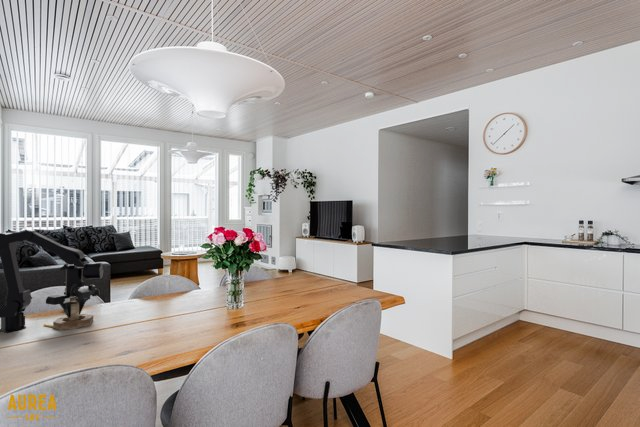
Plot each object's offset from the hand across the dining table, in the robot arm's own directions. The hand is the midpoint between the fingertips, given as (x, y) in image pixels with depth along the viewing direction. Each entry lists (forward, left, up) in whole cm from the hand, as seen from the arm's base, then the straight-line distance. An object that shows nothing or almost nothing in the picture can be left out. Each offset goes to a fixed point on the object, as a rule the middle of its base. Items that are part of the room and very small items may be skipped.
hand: (73, 316), depth 146 cm
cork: (+16, +28, -4) cm, 32 cm away
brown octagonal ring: (0, 0, -4) cm, 4 cm away
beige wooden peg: (0, 0, -2) cm, 3 cm away
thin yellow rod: (-6, +6, -4) cm, 9 cm away
